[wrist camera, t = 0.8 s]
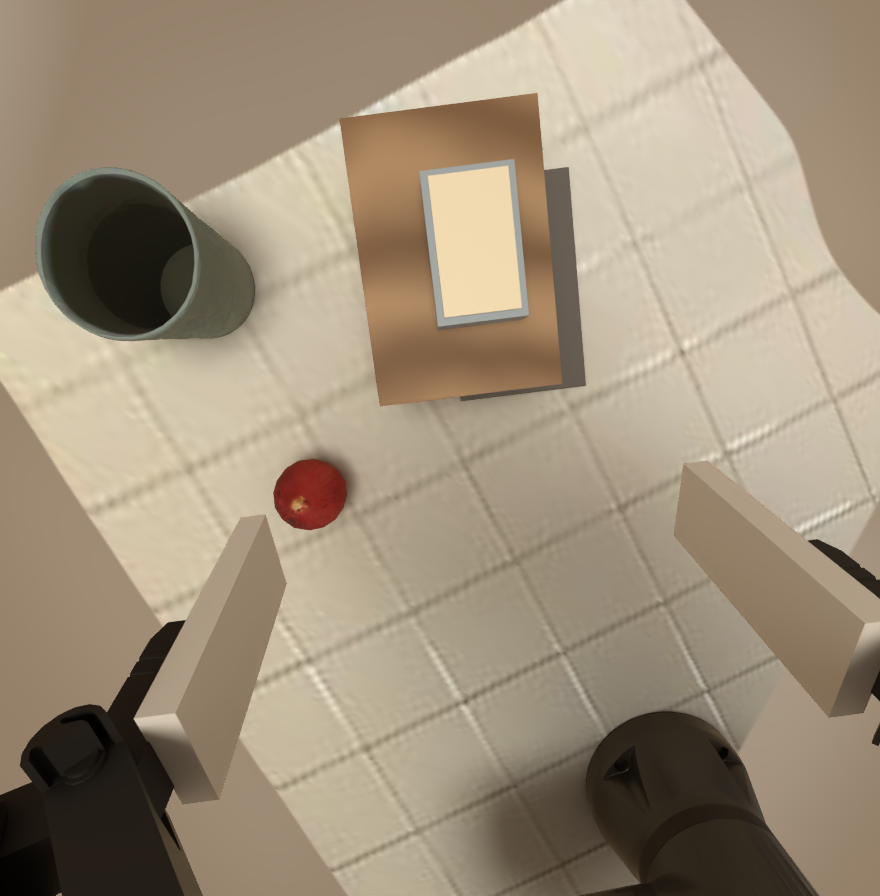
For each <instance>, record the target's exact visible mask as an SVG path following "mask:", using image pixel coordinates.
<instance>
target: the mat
mask: <svg viewBox="0 0 880 896" xmlns="http://www.w3.org/2000/svg"><path fill="white" fill-rule="evenodd" d="M544 177H545V188H546V200H547V211H548V223H549V235H550V246H551V258H552V270H553V281H554V293H555V304H556V316H557V328H558V339H559V351H560V363H561V374H562V384H556V385H548V386H540V387H532V388H524V389H516V390H508V391H499V392H491V393H483V394H475V395H467V396H461V401H466V400H474V399H482V398H490V397H498V396H506V395H514V394H522V393H530V392H539V391H547V390H555V389H563V388H571V387H579V386H586V382H585V369H584V356H583V344H582V331H581V319H580V306H579V293H578V281H577V268H576V255H575V243H574V230H573V218H572V205H571V192H570V180H569V167H566V168H558V169H550V170H544Z"/></svg>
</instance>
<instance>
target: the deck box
mask: <svg viewBox="0 0 880 896" xmlns="http://www.w3.org/2000/svg"><path fill="white" fill-rule="evenodd" d="M419 173H420V185H421V194H422V202H423V210H424V219H425V227H426V235H427V244H428V252H429V260H430V268H431V277H432V285H433V293H434V302H435V310H436V318H437V327H438V330H444V329H452V328H460V327H468V326H476V325H484V324H492V323H500V322H508V321H516V320H523V319H524V318H526V317H527V316H529V310H528V299H527V289H526V278H525V268H524V257H523V246H522V236H521V225H520V214H519V204H518V193H517V182H516V172H515V161H514V159H510V160H502V161H494V162H486V163H479V164H471V165H463V166H455V167H448V168H440V169H432V170H424V171H419Z"/></svg>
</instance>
